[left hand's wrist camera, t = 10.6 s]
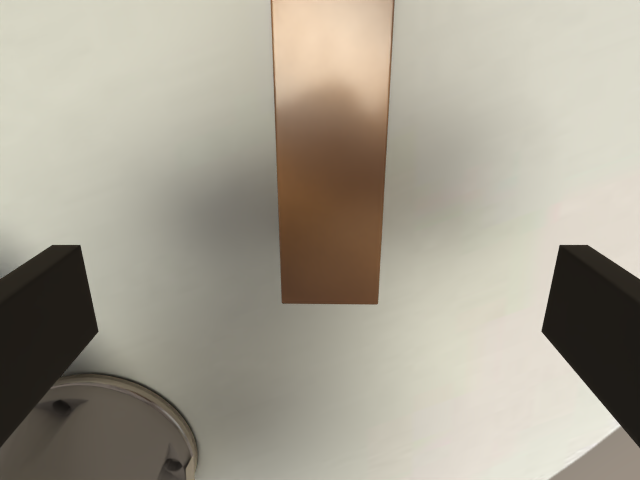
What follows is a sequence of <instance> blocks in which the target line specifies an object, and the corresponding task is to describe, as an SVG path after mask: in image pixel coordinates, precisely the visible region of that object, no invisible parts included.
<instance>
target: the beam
mask: <svg viewBox="0 0 640 480" xmlns="http://www.w3.org/2000/svg"><path fill="white" fill-rule="evenodd" d="M394 2H395V0H271V21H272V48H273V76H274V103H275V130H276V157H277V185H278V212H279V239H280V267H281V294H282V303H283V304H378V294H379V276H380V258H381V239H382V221H383V203H384V185H385V166H386V148H387V130H388V112H389V93H390V75H391V57H392V38H393V20H394Z"/></svg>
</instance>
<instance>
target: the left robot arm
mask: <svg viewBox="0 0 640 480" xmlns="http://www.w3.org/2000/svg"><path fill="white" fill-rule="evenodd" d="M97 333H98V327H97V322H96V317H95V313H94V308H93V303H92V298H91V294H90V289H89V284H88V279H87V275H86V270H85V265H84V260H83V256H82V251H81V246H80V245H52V246H50V247H49V248H47V249H46V250H44V251H43V252H41V253H40V254H38V255H36V256H35V257H33V258H32V259H30V260H29V261H27V262H26V263H24V264H23V265H21V266H20V267H18V268H17V269H15V270H14V271H12V272H11V273H9V274H8V275H6V276H5V277H3V278H1V279H0V480H195V479H194V474H195V470H196V467H197V460H198V455H197V446H196V442H195V439H194V436H193V434H192V431H191V430H190V428H189V426H188V424H187V423H186V421H185V420H184V418H183V417H182V416H181V415H180V414H179V412H178V411H177V410H176V409H175V408H174V407H173V406H172V405H170V404H169V403H168V402H167V401H166V400H164V399H163V398H162V397H160V396H159V395H157V394H156V393H154V392H152V391H151V390H149V389H147V388H145V387H143V386H141V385H138V384H136V383H133V382H131V381H127V380H124V379H121V378H117V377H113V376H107V375H98V374H78V375H70V376H65V377H61V378H60V376H61V375H62V374H63V373H64V372H65V371H66V369H67V368H68V367H69V366H70V365H71V363H72V362H73V361H74V360H75V359H76V358H77V356H78V355H79V354H80V353H81V352H82V350H83V349H84V348H85V347H86V346H87V345H88V343H89V342H90V341H91V340H92V339H93V337H94V336H95V335H96V334H97ZM542 333H543V334H544V335H545V336H546V337H547V339H548V340H549V341H550V342H551V343H552V345H553V346H554V347H555V348H556V349H557V350H558V352H559V353H560V354H561V355H562V356H563V358H564V359H565V360H566V361H567V362H568V363H569V365H570V366H571V367H572V368H573V369H574V371H575V372H576V373H577V374H578V375H579V376H580V378H581V379H582V380H583V381H584V382H585V384H586V385H587V386H588V387H589V388H590V390H591V391H592V392H593V393H594V394H595V395H596V397H597V398H598V399H599V400H600V401H601V403H602V404H603V405H604V406H605V407H606V408H607V410H608V411H609V412H610V413H611V414H612V416H613V417H614V418H615V419H616V420H617V421H618V423H619V424H620V425H621V426H622V427H623V429H624V430H625V431H626V432H627V433H628V434H629V436H630V437H631V438H632V439H633V440H634V442H635V443H636V444H637V445H638V446H639V448H640V279H639V278H637V277H635V276H634V275H632V274H631V273H629V272H628V271H626V270H625V269H623V268H622V267H620V266H619V265H617V264H616V263H614V262H613V261H611V260H610V259H608V258H607V257H605V256H604V255H602V254H600V253H599V252H597V251H596V250H594V249H593V248H591V247H590V246H588V245H560V246H559V251H558V255H557V260H556V265H555V270H554V275H553V279H552V284H551V289H550V294H549V298H548V303H547V308H546V313H545V317H544V322H543V327H542Z"/></svg>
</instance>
